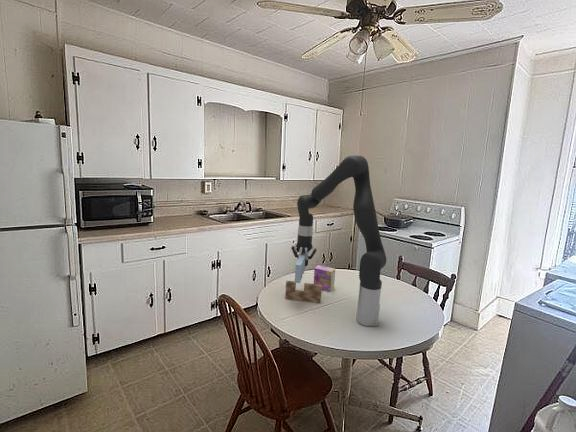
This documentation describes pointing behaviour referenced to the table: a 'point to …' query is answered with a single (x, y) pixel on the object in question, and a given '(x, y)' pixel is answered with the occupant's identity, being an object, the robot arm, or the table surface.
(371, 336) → the table surface
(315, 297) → the slotted board
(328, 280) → the box
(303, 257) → the notched plate
